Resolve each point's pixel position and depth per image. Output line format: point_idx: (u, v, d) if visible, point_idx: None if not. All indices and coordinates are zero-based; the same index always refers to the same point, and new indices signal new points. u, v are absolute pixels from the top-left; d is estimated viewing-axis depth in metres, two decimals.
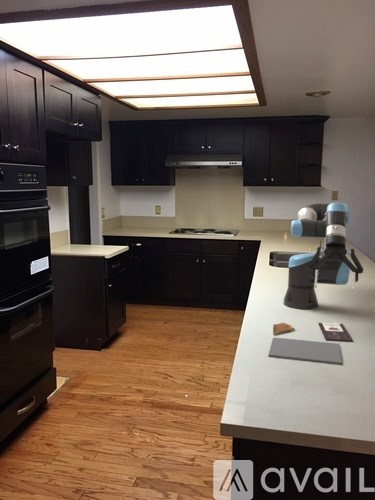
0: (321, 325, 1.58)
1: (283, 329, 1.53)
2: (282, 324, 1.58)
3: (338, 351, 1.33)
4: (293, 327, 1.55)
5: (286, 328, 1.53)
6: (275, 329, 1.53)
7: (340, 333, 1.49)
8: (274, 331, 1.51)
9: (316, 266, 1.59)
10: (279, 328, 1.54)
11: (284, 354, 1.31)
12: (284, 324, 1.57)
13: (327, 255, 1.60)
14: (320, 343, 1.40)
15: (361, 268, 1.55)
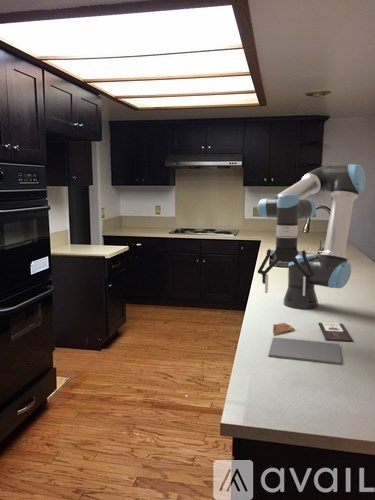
0: (321, 325, 1.58)
1: (283, 329, 1.53)
2: (282, 324, 1.58)
3: (338, 351, 1.33)
4: (293, 327, 1.55)
5: (286, 328, 1.53)
6: (275, 329, 1.53)
7: (340, 333, 1.49)
8: (274, 331, 1.51)
9: (266, 272, 1.52)
10: (279, 328, 1.54)
11: (284, 354, 1.31)
12: (284, 324, 1.57)
13: (277, 260, 1.50)
14: (320, 343, 1.40)
15: (312, 273, 1.47)
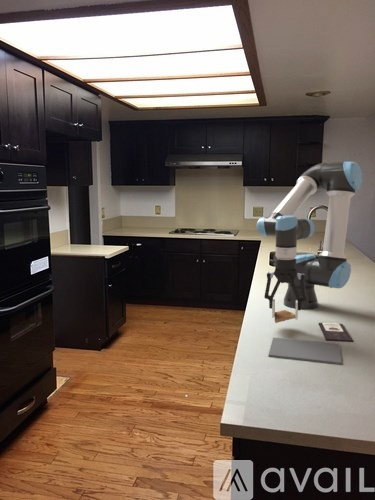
0: (321, 325, 1.58)
1: (285, 316, 1.52)
2: (283, 311, 1.57)
3: (338, 351, 1.33)
4: (294, 314, 1.55)
5: (287, 316, 1.53)
6: (277, 316, 1.52)
7: (340, 333, 1.49)
8: (276, 318, 1.51)
9: (272, 296, 1.53)
10: (280, 315, 1.53)
11: (284, 354, 1.31)
12: (285, 312, 1.57)
13: None
14: (320, 343, 1.40)
15: (304, 298, 1.50)
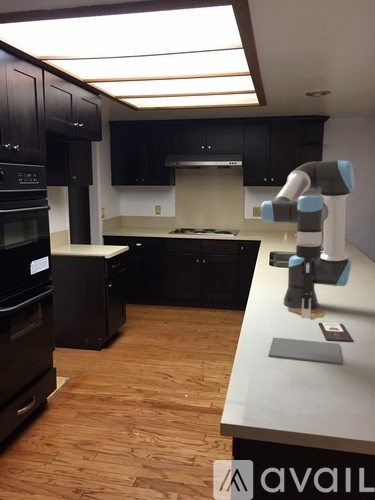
0: (321, 325, 1.58)
1: (300, 311, 1.33)
2: (317, 311, 1.33)
3: (338, 351, 1.33)
4: (312, 315, 1.29)
5: None
6: (298, 308, 1.36)
7: (340, 333, 1.49)
8: (292, 308, 1.37)
9: None
10: None
11: (284, 354, 1.31)
12: (316, 311, 1.32)
13: None
14: (320, 343, 1.40)
15: (302, 294, 1.26)
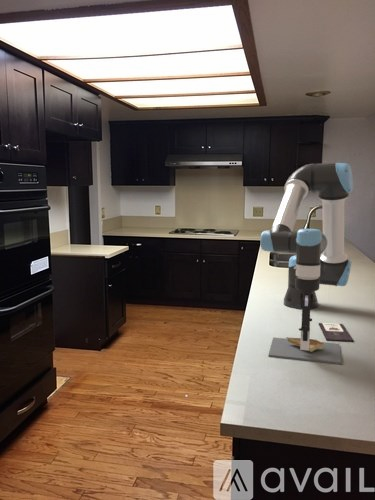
0: (321, 325, 1.58)
1: (299, 342, 1.35)
2: (316, 342, 1.34)
3: (338, 351, 1.33)
4: (311, 347, 1.31)
5: None
6: (297, 338, 1.38)
7: (340, 333, 1.49)
8: (291, 338, 1.39)
9: None
10: None
11: (284, 354, 1.31)
12: (315, 342, 1.34)
13: None
14: None
15: (301, 327, 1.27)
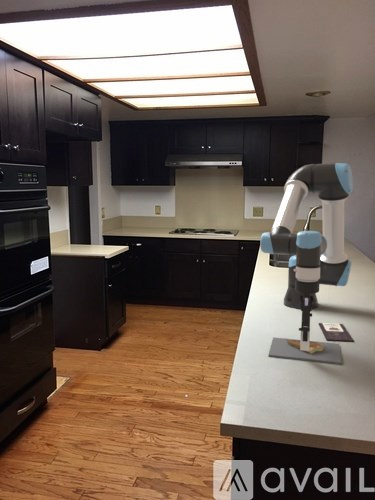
0: (321, 325, 1.58)
1: (299, 344, 1.35)
2: (315, 344, 1.34)
3: (338, 351, 1.33)
4: (311, 349, 1.31)
5: None
6: (297, 341, 1.38)
7: (341, 333, 1.49)
8: (291, 340, 1.39)
9: None
10: None
11: (284, 354, 1.31)
12: (314, 344, 1.34)
13: None
14: (320, 343, 1.40)
15: (301, 327, 1.25)
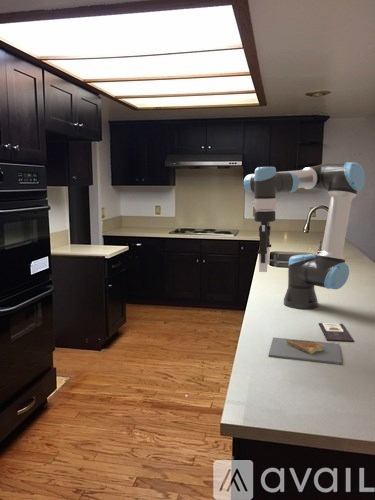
0: (321, 325, 1.58)
1: (299, 344, 1.35)
2: (315, 344, 1.34)
3: (338, 351, 1.33)
4: (311, 349, 1.31)
5: (302, 345, 1.34)
6: (297, 341, 1.38)
7: (341, 333, 1.49)
8: (290, 340, 1.39)
9: None
10: (301, 342, 1.36)
11: (284, 354, 1.31)
12: (314, 345, 1.34)
13: None
14: (320, 343, 1.40)
15: (259, 250, 1.41)
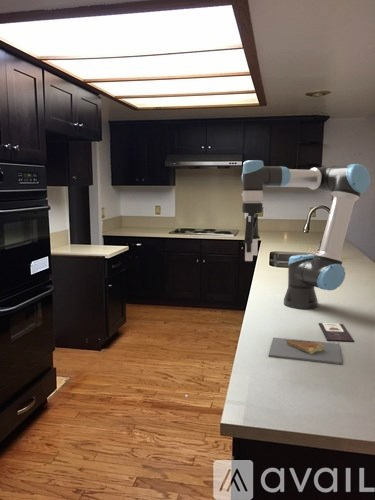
0: (321, 325, 1.58)
1: (299, 344, 1.35)
2: (315, 344, 1.34)
3: (338, 351, 1.33)
4: (311, 350, 1.31)
5: (302, 345, 1.34)
6: (296, 341, 1.38)
7: (341, 333, 1.49)
8: (290, 340, 1.39)
9: None
10: (300, 342, 1.36)
11: (284, 354, 1.31)
12: (314, 345, 1.34)
13: None
14: (320, 343, 1.40)
15: None
